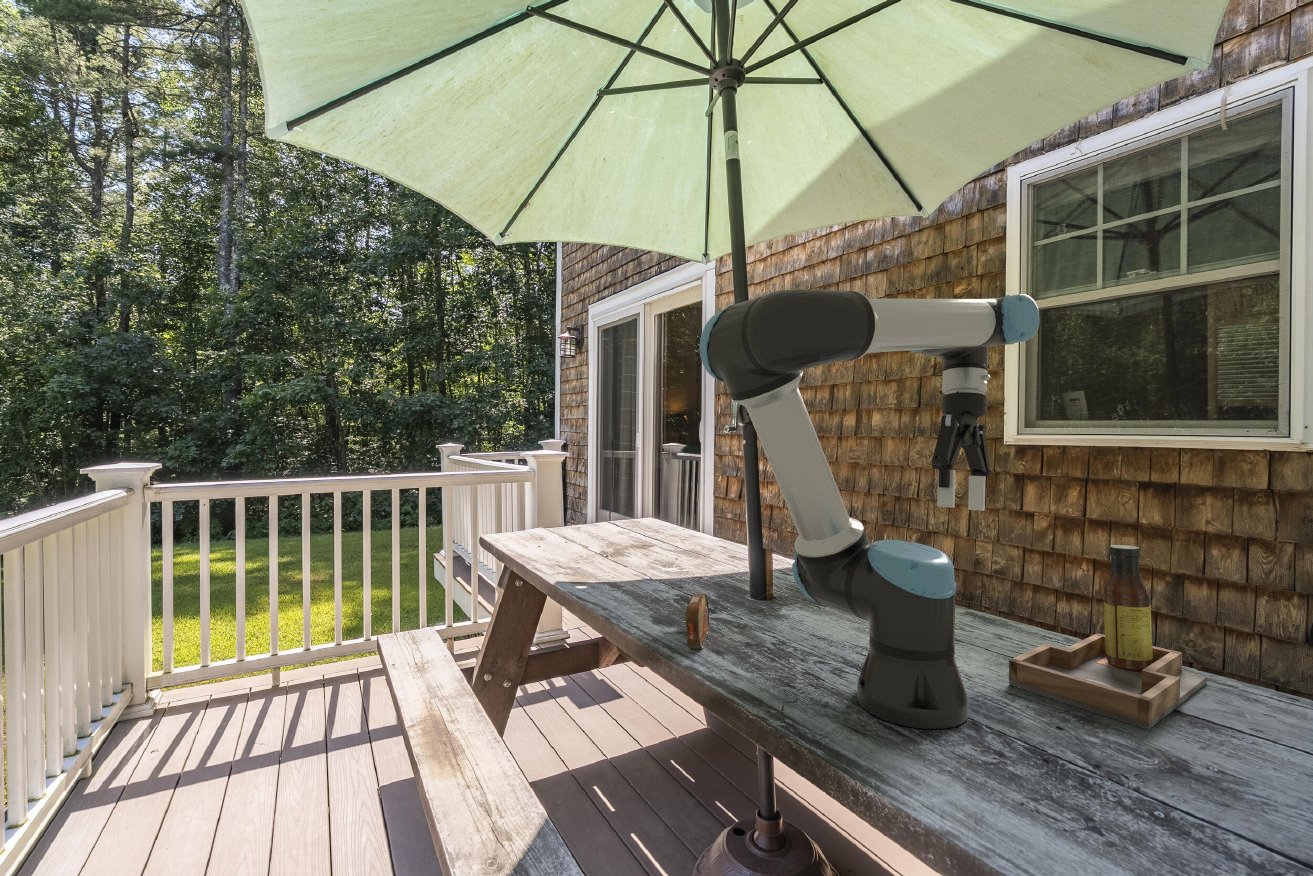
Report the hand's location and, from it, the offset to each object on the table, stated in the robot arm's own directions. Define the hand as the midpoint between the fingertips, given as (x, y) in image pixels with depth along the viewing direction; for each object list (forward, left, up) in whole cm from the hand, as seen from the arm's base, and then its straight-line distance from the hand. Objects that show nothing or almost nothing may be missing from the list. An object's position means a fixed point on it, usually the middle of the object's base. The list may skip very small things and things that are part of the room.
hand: (961, 509), depth 112 cm
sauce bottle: (+13, -21, -25) cm, 35 cm away
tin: (-36, +33, -26) cm, 55 cm away
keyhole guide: (+4, -21, -26) cm, 34 cm away
